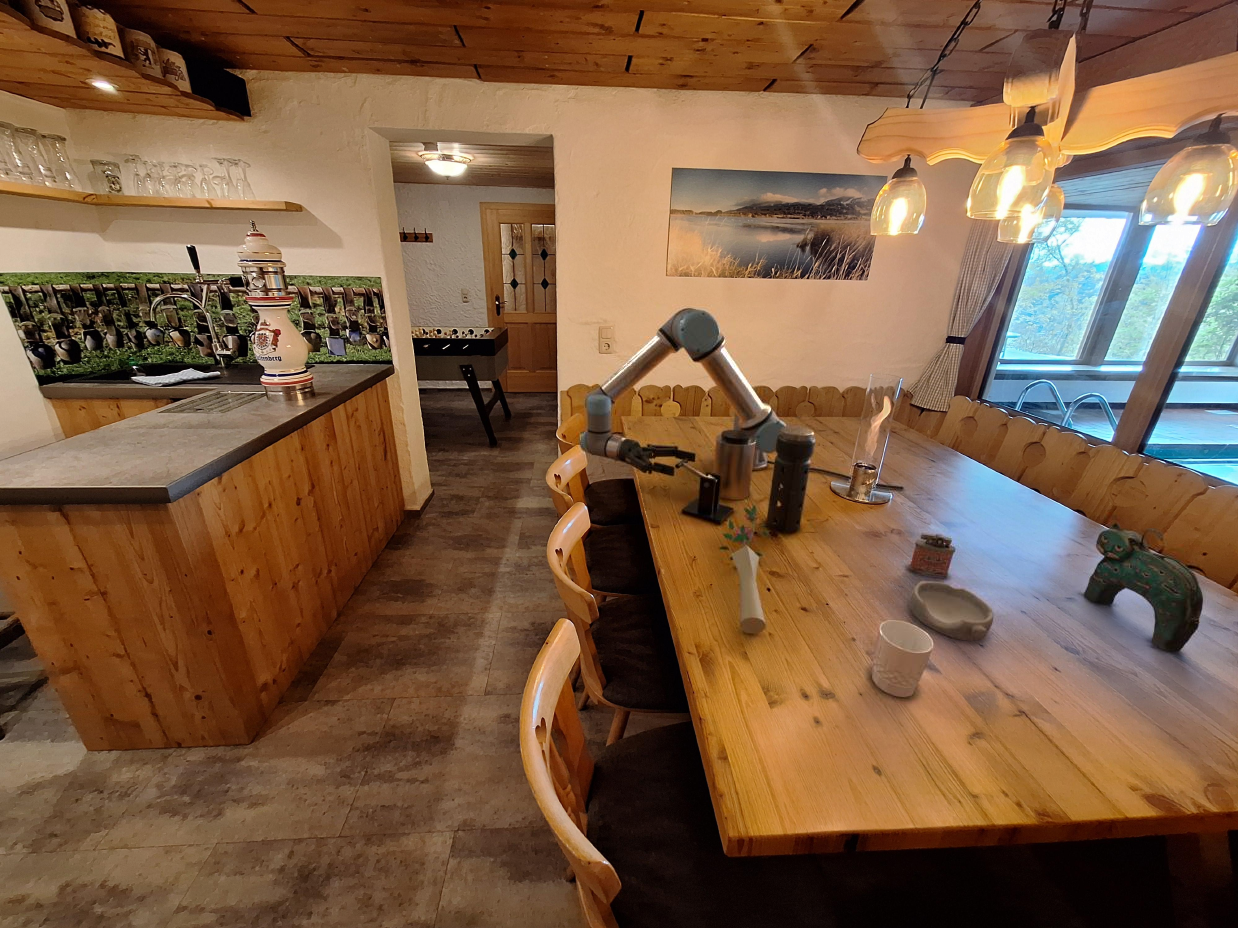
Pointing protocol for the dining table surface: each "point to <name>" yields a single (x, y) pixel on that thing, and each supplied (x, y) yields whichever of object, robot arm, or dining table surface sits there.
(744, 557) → the flower vase
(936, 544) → the lighter
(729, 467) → the metal tumbler
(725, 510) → the switch base
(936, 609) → the dish
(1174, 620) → the ceramic cat
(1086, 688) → the dining table surface
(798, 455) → the muzzle brake
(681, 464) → the switch lever
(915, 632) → the white cup
